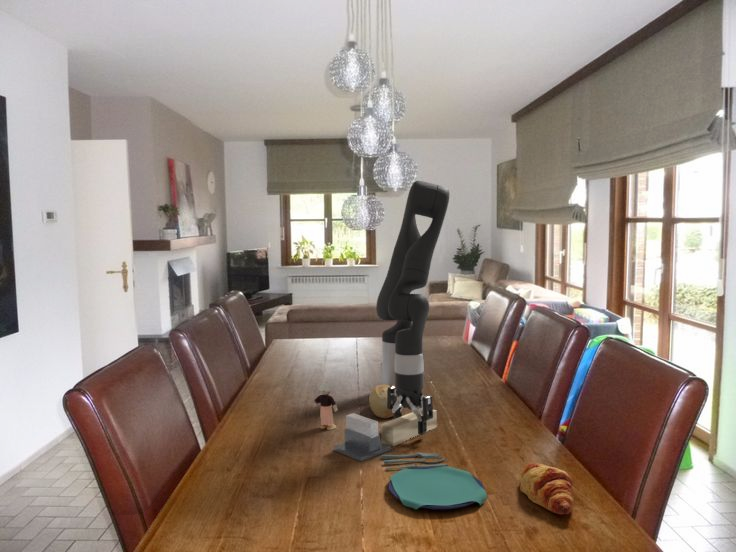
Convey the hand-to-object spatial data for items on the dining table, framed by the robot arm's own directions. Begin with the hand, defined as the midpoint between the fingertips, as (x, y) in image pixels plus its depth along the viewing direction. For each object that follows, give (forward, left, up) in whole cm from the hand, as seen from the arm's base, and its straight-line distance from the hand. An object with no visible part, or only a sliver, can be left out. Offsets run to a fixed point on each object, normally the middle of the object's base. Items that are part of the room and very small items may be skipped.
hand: (409, 430), depth 158 cm
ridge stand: (-1, -16, -1) cm, 16 cm away
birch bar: (0, 0, -2) cm, 2 cm away
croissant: (+44, -6, -2) cm, 44 cm away
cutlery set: (+22, -18, -2) cm, 29 cm away
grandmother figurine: (-20, -12, -1) cm, 23 cm away
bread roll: (-18, +9, -2) cm, 20 cm away
